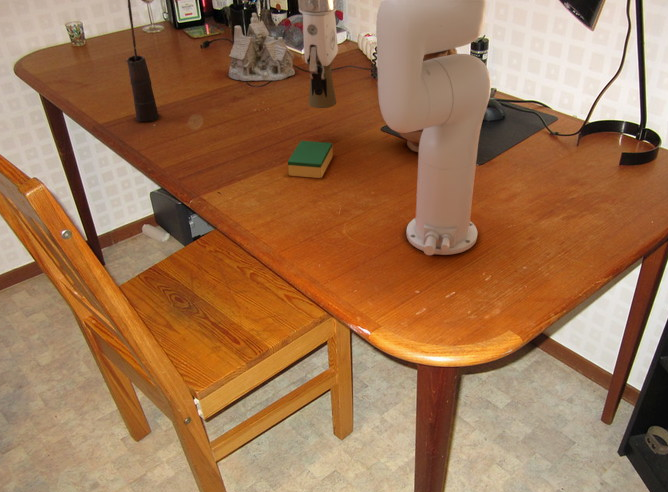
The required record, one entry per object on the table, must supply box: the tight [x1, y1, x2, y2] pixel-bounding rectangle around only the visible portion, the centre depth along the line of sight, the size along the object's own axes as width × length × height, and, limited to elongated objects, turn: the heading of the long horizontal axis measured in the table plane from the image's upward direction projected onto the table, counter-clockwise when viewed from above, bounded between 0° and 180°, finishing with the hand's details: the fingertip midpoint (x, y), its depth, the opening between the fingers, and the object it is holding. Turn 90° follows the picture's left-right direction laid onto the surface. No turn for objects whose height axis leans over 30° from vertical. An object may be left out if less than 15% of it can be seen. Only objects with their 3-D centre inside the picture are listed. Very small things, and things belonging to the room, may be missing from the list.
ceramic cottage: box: [228, 12, 296, 82], centre depth 176 cm, size 16×16×15 cm
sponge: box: [287, 140, 334, 179], centre depth 136 cm, size 10×7×3 cm
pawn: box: [308, 56, 337, 109], centre depth 137 cm, size 6×6×11 cm
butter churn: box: [124, 0, 160, 123], centre depth 147 cm, size 9×10×28 cm
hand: (322, 92), depth 139 cm, fingers closed on pawn, 3 cm apart
